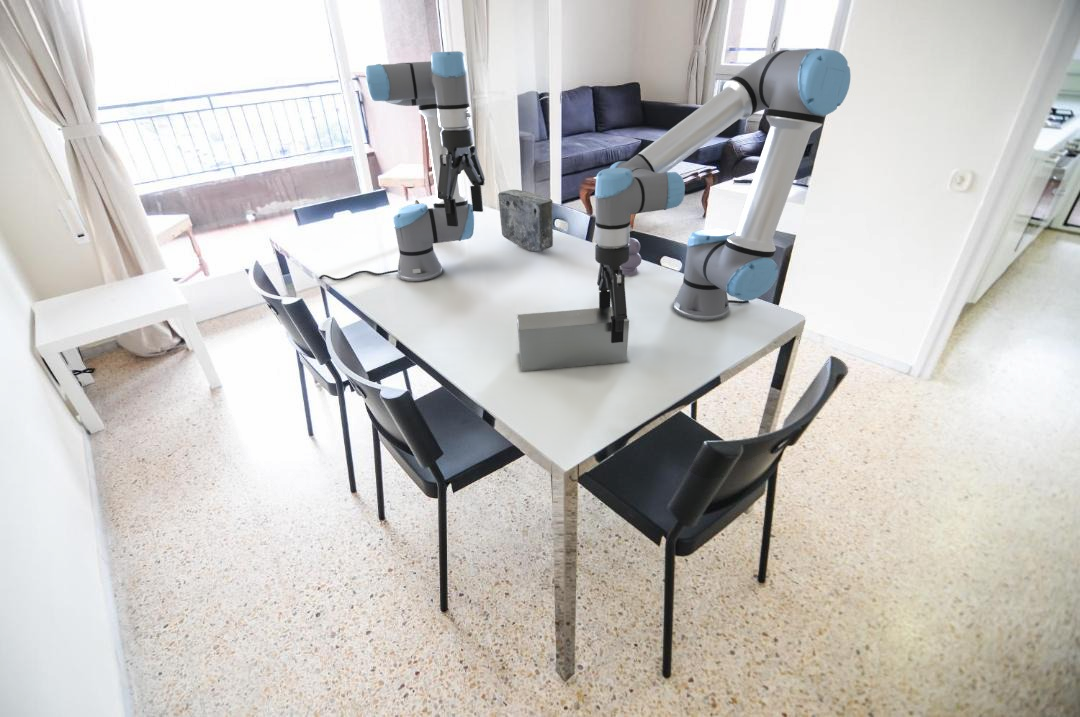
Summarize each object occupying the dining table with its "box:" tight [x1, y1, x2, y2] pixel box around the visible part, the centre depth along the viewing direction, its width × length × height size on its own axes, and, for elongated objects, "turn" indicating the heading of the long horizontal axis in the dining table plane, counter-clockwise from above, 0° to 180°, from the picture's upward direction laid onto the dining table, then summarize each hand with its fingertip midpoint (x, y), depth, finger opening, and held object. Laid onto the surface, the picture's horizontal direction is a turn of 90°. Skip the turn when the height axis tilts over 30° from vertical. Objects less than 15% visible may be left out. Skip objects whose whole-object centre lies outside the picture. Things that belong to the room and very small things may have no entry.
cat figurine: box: [620, 237, 642, 277], centre depth 167 cm, size 9×8×12 cm
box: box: [516, 306, 630, 372], centre depth 121 cm, size 26×8×11 cm, turn 96°
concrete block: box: [497, 189, 554, 252], centre depth 191 cm, size 27×9×20 cm, turn 36°
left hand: (465, 218), depth 128 cm, fingers open, 13 cm apart
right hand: (610, 328), depth 121 cm, fingers open, 13 cm apart
